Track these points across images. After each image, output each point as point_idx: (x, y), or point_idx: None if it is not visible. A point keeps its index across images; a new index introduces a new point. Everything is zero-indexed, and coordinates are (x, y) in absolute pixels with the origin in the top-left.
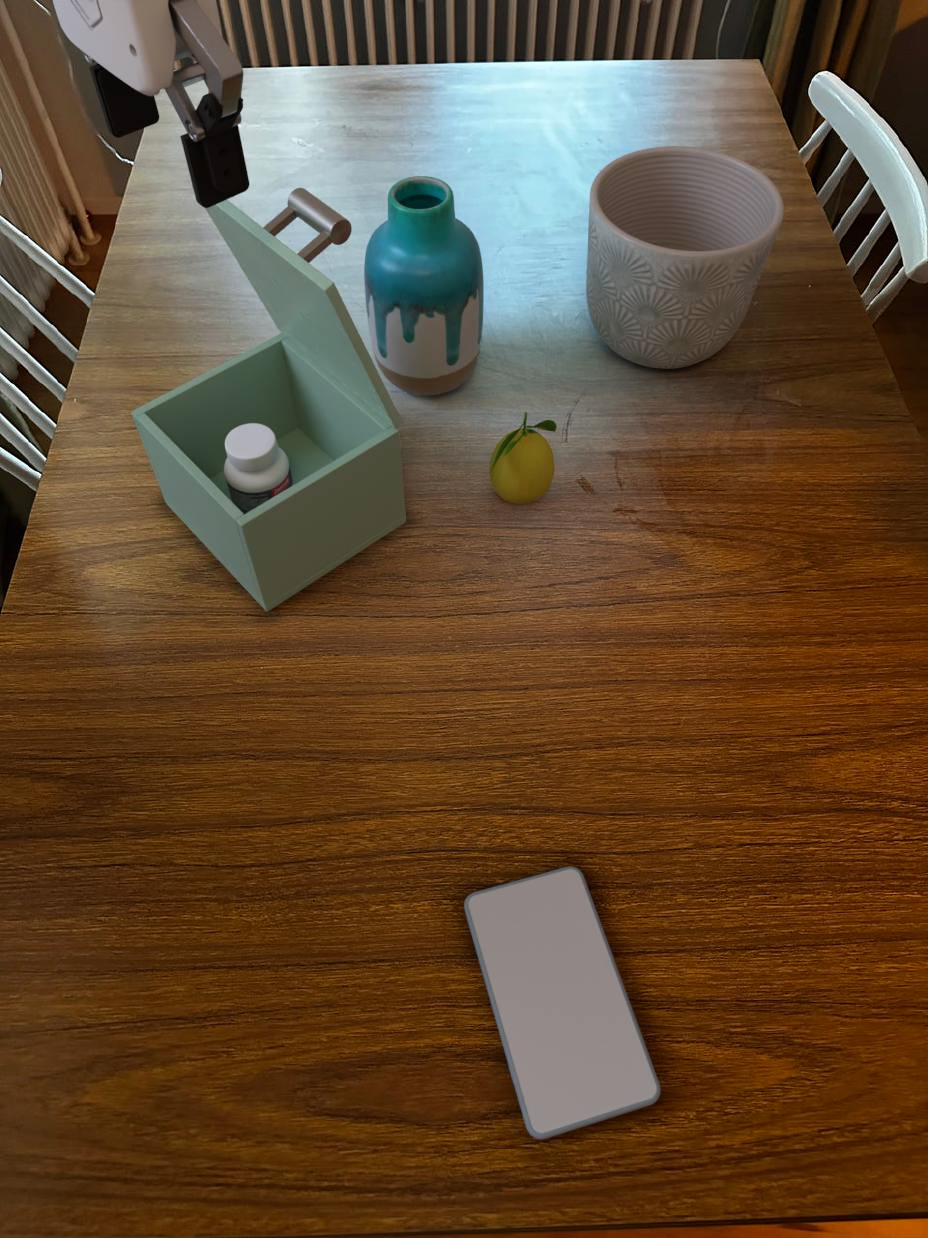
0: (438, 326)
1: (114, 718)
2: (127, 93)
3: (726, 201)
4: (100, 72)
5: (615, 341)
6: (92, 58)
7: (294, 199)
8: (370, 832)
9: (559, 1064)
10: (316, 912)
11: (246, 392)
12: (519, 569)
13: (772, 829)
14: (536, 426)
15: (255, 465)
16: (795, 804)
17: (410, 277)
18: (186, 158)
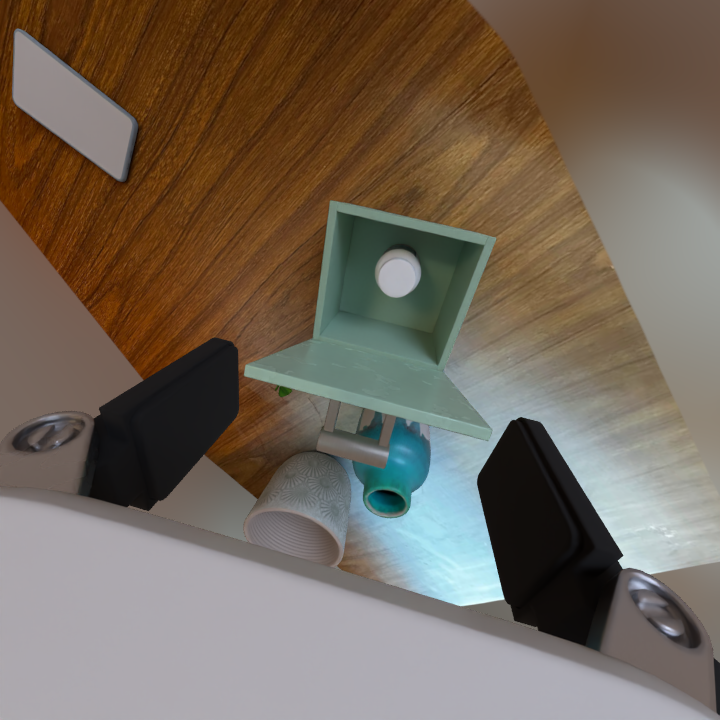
0: (362, 423)
1: (372, 48)
2: (515, 508)
3: (299, 545)
4: (572, 545)
5: (315, 457)
6: (428, 615)
7: (379, 453)
8: (198, 118)
9: (40, 75)
10: (177, 45)
11: (447, 322)
12: (269, 318)
13: (102, 262)
14: (280, 388)
15: (382, 265)
16: (107, 279)
17: None
18: (165, 382)
